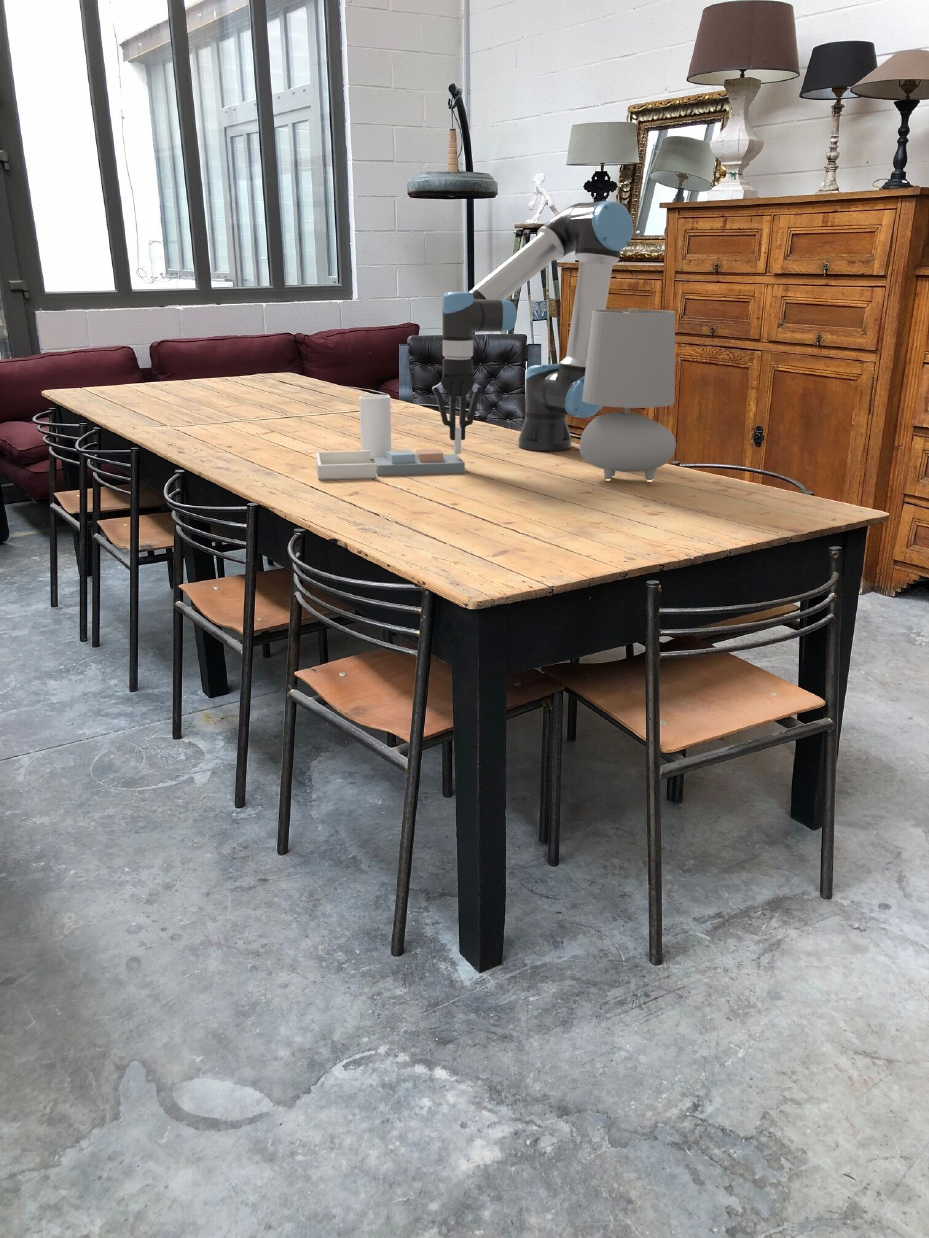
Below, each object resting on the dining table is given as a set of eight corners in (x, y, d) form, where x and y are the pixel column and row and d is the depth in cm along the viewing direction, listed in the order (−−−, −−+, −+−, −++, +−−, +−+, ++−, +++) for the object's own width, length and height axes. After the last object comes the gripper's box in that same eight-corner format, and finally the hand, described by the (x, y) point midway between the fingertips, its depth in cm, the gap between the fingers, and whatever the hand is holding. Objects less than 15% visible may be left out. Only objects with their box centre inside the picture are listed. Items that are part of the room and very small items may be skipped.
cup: (386, 459, 258) (385, 399, 252) (357, 458, 259) (355, 398, 254) (394, 454, 265) (393, 395, 260) (366, 452, 267) (364, 394, 261)
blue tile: (409, 457, 248) (409, 449, 247) (415, 462, 242) (415, 454, 242) (386, 458, 246) (386, 451, 245) (392, 463, 241) (391, 455, 240)
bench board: (456, 463, 254) (456, 454, 253) (464, 472, 243) (464, 463, 242) (373, 465, 250) (372, 456, 249) (377, 475, 239) (377, 465, 238)
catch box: (370, 463, 253) (369, 450, 251) (376, 478, 236) (375, 464, 235) (316, 465, 250) (315, 451, 249) (318, 480, 234) (317, 465, 233)
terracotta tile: (439, 456, 249) (439, 449, 248) (443, 461, 244) (443, 453, 243) (416, 457, 248) (416, 449, 247) (419, 461, 243) (419, 454, 242)
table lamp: (678, 475, 241) (692, 307, 227) (666, 494, 222) (680, 312, 208) (587, 469, 248) (596, 305, 234) (568, 486, 229) (576, 309, 215)
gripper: (480, 356, 243) (479, 449, 251) (429, 356, 241) (430, 450, 249) (486, 359, 236) (485, 455, 244) (433, 359, 234) (434, 456, 242)
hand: (457, 452), depth 246 cm, fingers closed
